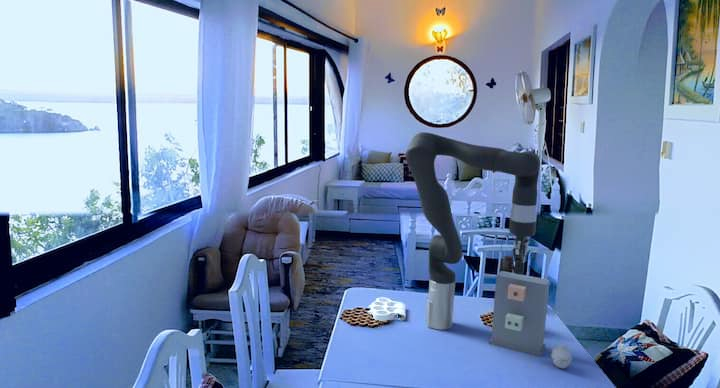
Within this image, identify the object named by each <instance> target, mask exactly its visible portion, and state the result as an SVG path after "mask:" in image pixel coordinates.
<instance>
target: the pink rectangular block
mask: <svg viewBox="0 0 720 388" xmlns="http://www.w3.org/2000/svg"><path fill="white" fill-rule="evenodd" d="M525 296H526V287H524V286H519V285H514V284H510V285H509V286H508V295H507V298H508V299H513V300H518V301H522V302H523V301H524V300H525Z"/></svg>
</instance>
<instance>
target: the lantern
mask: <svg viewBox="0 0 720 388" xmlns="http://www.w3.org/2000/svg"><path fill="white" fill-rule="evenodd" d="M509 235H510V236H511V237H512V238H513V241H514V240H515V239H516V238H514V235H513V234H511V233H510V232H509V233H508V234H507V235H506V236H504V237H503V239H502V241H504V239H505V238H506V237H508V236H509ZM502 246H503V244H501V247H500V249H502ZM503 257H504V259H503V260H502V259H501V260H500V266H499V270H498V273H500V272H501V271H505V272H510V273H515V268H516V263H515V264H514V256H511V255H504V256H503Z"/></svg>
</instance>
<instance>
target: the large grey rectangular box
mask: <svg viewBox="0 0 720 388" xmlns="http://www.w3.org/2000/svg"><path fill="white" fill-rule="evenodd" d="M495 277H496V278H495V289H494V290H495V291H494V299H493V313H492V315H493V316H492V327H491V337H490V338H489V339H488V344H489V345H493V346H495V347H496V346H497V347H501V348H505V349H508V350H513V351H516V352H520V353H524V354H529V355H532V356H535V357H539V358H540V357H541V356H542V355H543V352H544V350H545V349H546V343H544V342H545V341H544V340H545V330H546V321H547V313H548V312H547V311H548V302H549V294H550V293H549V292H550V290H549V289H550V282H551V281H550V279H547V278H542V277H535V276H532V275H531V276H530V275H525V274H522V275H519V274H516V273H513V272H512V273H510V272H505V271H503V270H501V272H500V273H499V272H498V273H497V274H496V276H495ZM510 284H514V285H519V286H524V287H526V296H525V300H524V301H523V302H522V301H518V300H513V299H508V298H507V295H508V286H509V285H510ZM508 313H510V314H515V315H519V316H524V318H523V328H522V330H521V331H516V330H512V329H508V328H505V319H506V315H507V314H508Z"/></svg>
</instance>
